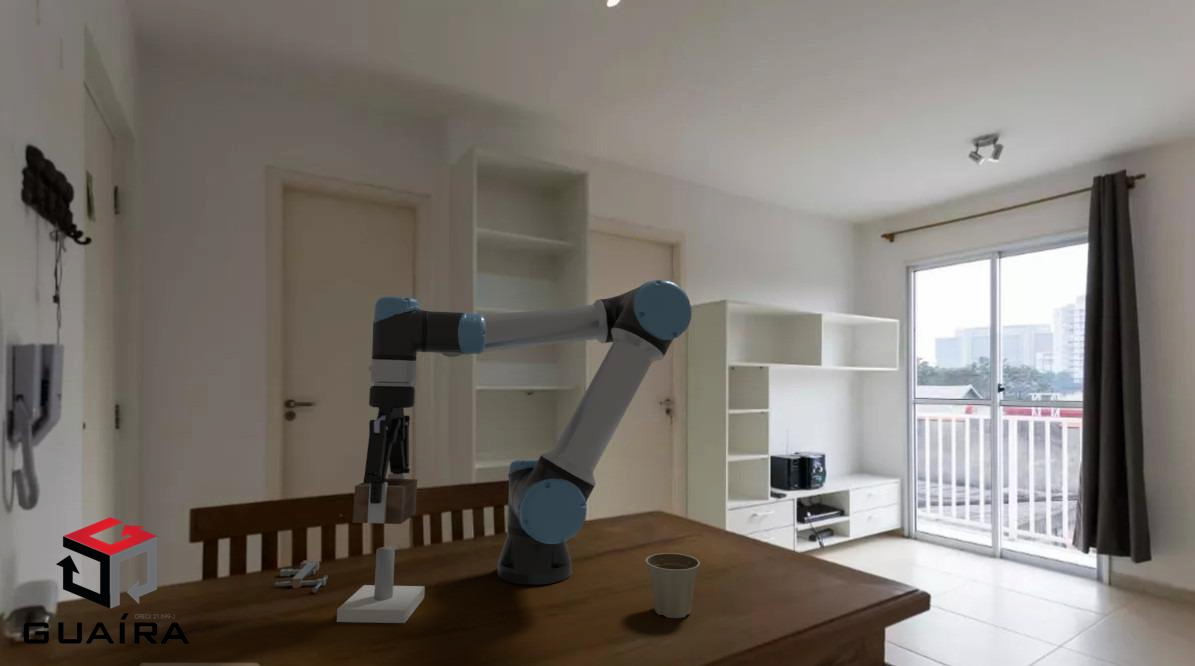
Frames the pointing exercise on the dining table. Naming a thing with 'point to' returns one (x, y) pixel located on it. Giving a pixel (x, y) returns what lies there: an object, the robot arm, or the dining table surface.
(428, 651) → the dining table surface
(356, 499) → the open brown box
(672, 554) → the flower pot
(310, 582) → the clamp
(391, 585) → the post block
